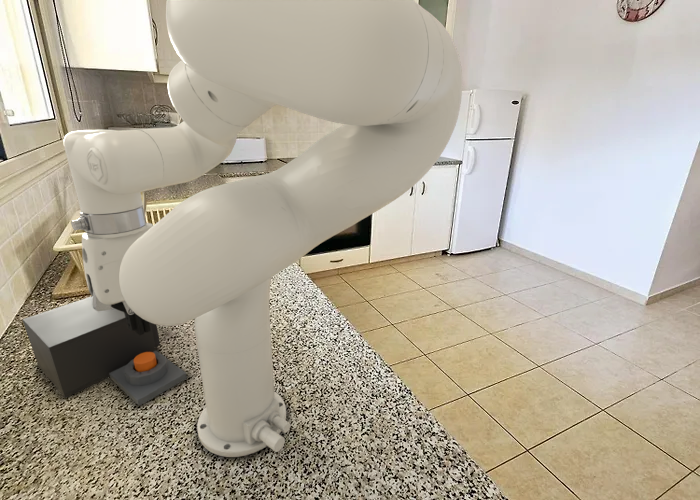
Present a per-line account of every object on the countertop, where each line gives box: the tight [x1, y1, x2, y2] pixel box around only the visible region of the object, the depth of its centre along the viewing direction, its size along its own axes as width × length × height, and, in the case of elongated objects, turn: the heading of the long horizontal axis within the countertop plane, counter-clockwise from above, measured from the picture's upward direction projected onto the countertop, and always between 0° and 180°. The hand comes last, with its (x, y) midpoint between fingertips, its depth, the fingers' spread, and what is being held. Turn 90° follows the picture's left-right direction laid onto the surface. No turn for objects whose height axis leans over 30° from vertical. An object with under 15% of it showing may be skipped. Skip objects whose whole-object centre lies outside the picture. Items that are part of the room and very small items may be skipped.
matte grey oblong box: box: [21, 295, 157, 399], centre depth 66 cm, size 15×13×10 cm
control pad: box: [109, 350, 188, 406], centre depth 63 cm, size 10×8×3 cm
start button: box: [134, 352, 157, 372], centre depth 62 cm, size 3×3×2 cm
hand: (141, 330), depth 60 cm, fingers closed
